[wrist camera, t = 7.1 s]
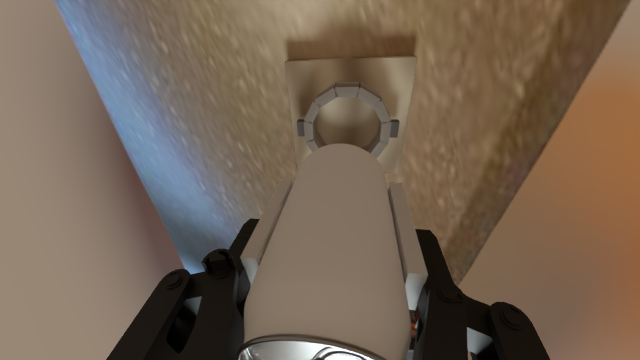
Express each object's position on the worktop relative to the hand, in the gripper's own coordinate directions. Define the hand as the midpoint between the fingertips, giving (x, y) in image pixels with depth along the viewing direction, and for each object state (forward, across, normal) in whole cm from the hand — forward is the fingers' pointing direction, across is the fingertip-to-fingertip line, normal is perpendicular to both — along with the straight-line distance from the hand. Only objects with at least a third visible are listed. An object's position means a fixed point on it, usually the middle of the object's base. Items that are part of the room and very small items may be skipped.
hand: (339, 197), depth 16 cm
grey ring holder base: (+17, 0, 0) cm, 17 cm away
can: (+2, 0, 0) cm, 2 cm away
